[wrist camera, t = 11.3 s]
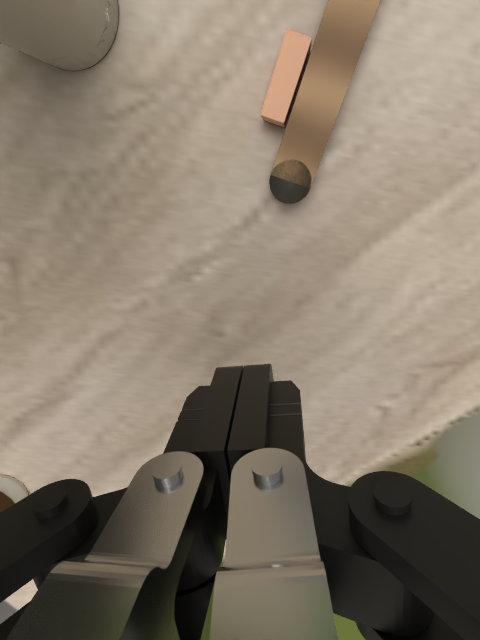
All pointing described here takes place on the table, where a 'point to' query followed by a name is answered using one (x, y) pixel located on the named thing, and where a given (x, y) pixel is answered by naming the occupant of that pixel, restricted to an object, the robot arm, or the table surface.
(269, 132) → the table surface
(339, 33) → the leg
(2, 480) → the coffee cup
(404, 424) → the table surface
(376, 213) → the table surface
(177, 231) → the table surface
